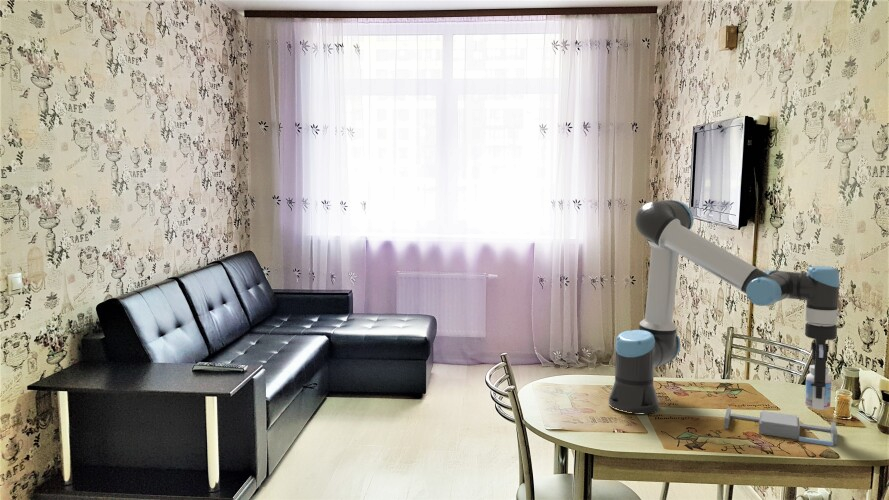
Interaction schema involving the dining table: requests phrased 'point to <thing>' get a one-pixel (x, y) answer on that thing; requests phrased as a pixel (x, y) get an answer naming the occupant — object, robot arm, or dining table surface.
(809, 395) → the pill bottle
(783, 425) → the grey block with rods
